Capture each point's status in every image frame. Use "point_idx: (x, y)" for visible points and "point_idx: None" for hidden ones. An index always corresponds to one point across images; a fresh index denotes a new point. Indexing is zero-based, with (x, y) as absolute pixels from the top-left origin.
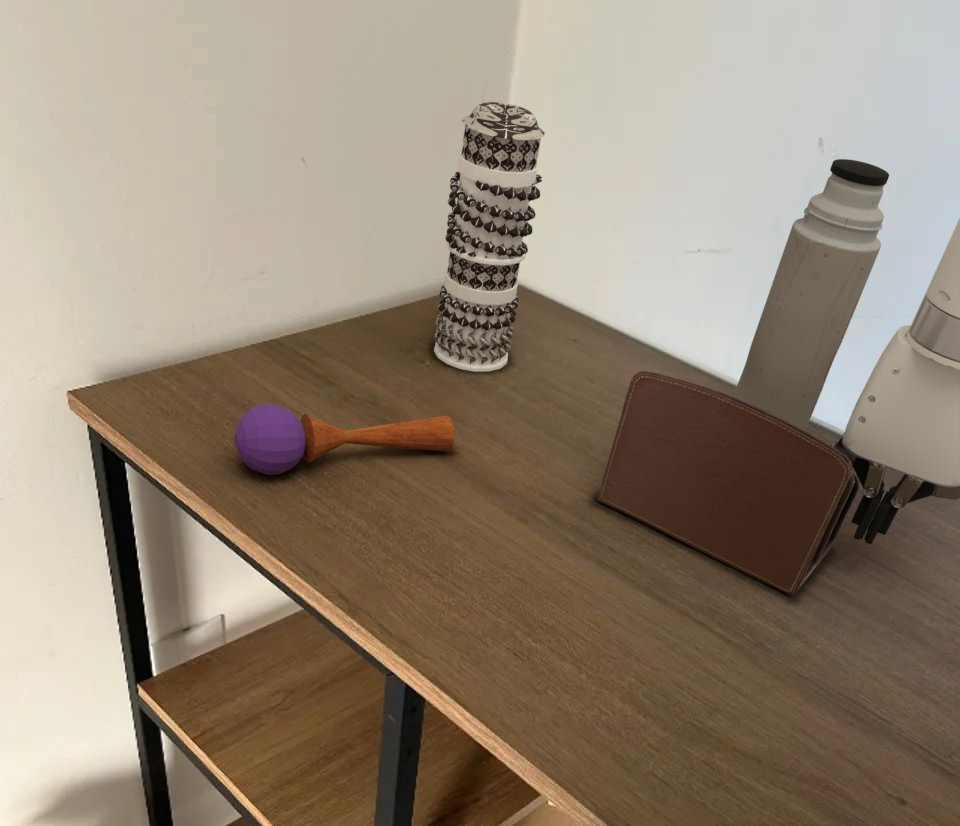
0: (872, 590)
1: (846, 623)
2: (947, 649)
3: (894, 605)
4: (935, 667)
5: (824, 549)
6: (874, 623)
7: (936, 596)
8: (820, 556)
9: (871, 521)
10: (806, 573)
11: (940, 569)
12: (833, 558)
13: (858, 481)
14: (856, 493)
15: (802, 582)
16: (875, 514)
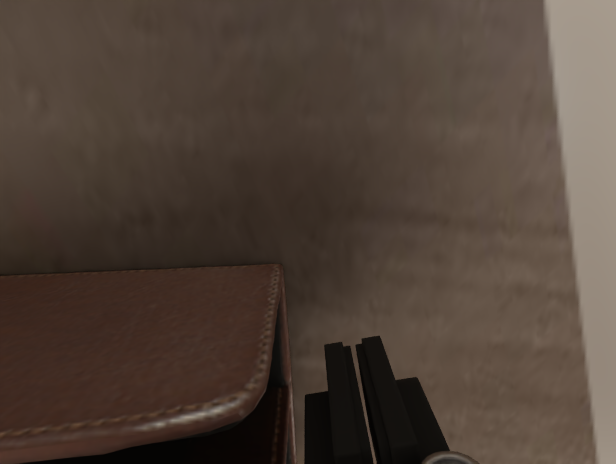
0: (412, 323)
1: None
2: (585, 385)
3: (465, 336)
4: (570, 445)
5: (280, 329)
6: (445, 415)
7: (540, 232)
8: (285, 360)
9: (360, 369)
10: (289, 437)
11: (532, 104)
12: (302, 280)
13: (250, 410)
14: (269, 371)
15: (295, 461)
16: (371, 425)
